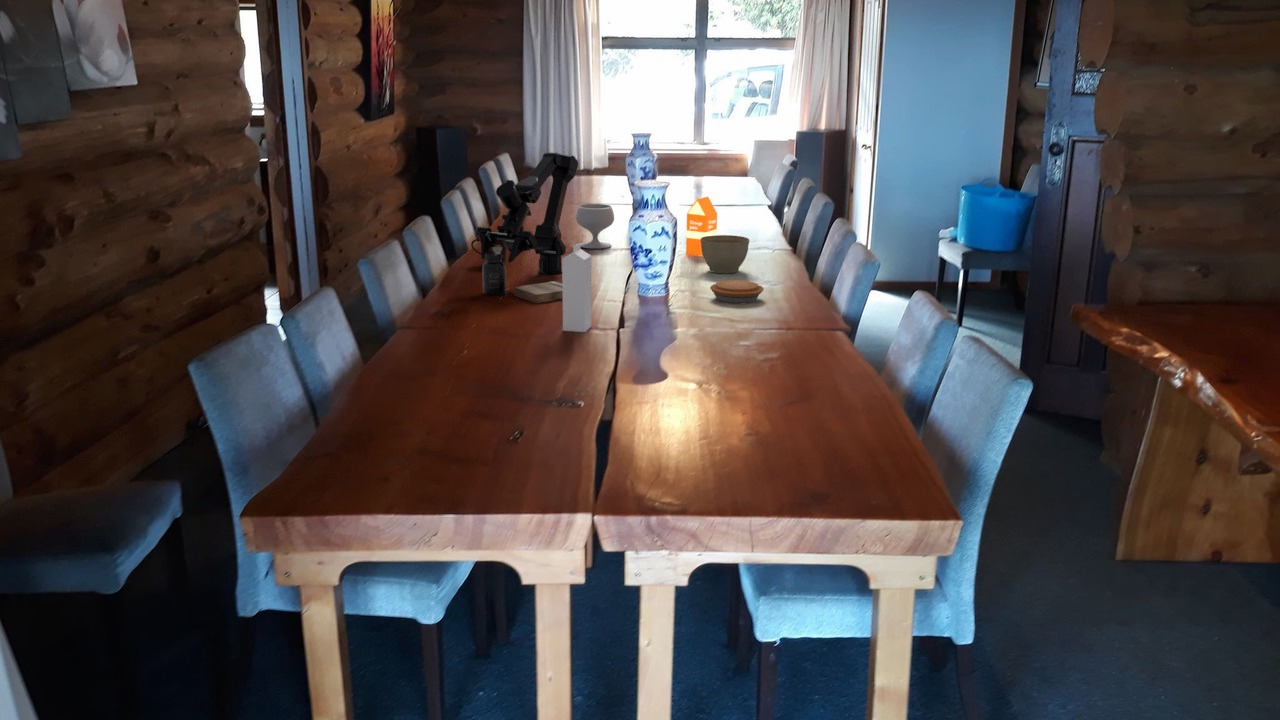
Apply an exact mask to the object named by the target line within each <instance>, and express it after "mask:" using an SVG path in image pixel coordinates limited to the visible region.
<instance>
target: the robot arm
mask: <svg viewBox="0 0 1280 720" xmlns="http://www.w3.org/2000/svg"><path fill="white" fill-rule="evenodd" d="M538 162H539V163H537V165H536V166H535V168H534V169H533V170H532V172H531V173H530V174H529V175H528V176H527V177H526V178H523V179H521V180H519V182H517V183H516V184H515V181H514V180H512V179H511V180H510V179H507V180H506V182H504V183H502V184H500V185H498V187H497V188H496V191H495V193H496V196H497V197H498V200H499V201H500V202H501V204H502V205H503V207H504V208H505V209H507V212H506V214H503V215H502V216H501V218H502V223H501V225H497V227H496V229H497V230H498V231H497V232H494V231H493V230H492V228H491V227H487V226H478V227H477V228H476V230H475V236H476V237H477V239H479V240H480V241H481V242H480V241H479V242H480V246H481V247H480V249H481V250H480V251H481V252H480V253H481V254H480V255H481V256H480V257H481V259H482V261H485V254H486V253H488V252H489V249H490V248H491V247H493V244H494V243H495V241H496V239H497V240H503V244H504V246H505V247H507V250H508V252H509V256H508V260H507V261H508V263H512V262H513V261H514V260H515V259H516V258H517V257H519V255H520V254H521V253H523V252H524V251H525V252H526V251H531V250H534V252H535V254H536V255H539V258H538V270H537V273H540V274H544V275H545V276H546V275H547V276H549V275H550V276H551V275H558V274H562V256H564V255H565V254H566V250H567V247H566V245H565V243H564V242H563V240H562V233H561V229H560V227H559V225H560V220H561V216H562V212H563V208H564V202H565V198H566V193H567V189H568V185H569V183H570V182H571V181H572V180H573V179H574V178H575V176H576V174H577V170H578V168H579V160H578V159H577V158H576V156H574V155H571V154H568V155H567V154H561V153H559V152H550V151H548V152H544V153H543V155H542V158H541V159H540V161H538ZM550 176H551V177H552V184H551V188H550V192H549V196H548V201H547V206H546V209H545V215H544V217H543V218H544V219H543V222H542V223H541V224H537V225H536V226H535V231H534V234H533V232H532V230H524V229H525V227H524V226H523V225H524V223H525V220H526V218H527V217H531V216H532V211H531V209H530V206H529V205H528V204H536V203H537V202H538V201H539V199H540V197H541V195H542V187H543V186H544V184H545V183H546V181H547V180H548V179H549V177H550Z"/></svg>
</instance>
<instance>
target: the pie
mask: <svg viewBox="0 0 1280 720" xmlns="http://www.w3.org/2000/svg"><path fill="white" fill-rule="evenodd" d="M709 289H710V290H711V291H712V292H713V295H714V296H715V298H716V300H718V302H721V303H726V304H733V305H734V304H735V305H742V304H741V303H746V304H751V303H754V302H755V301H756V300H757V299H758V298H759V295H760V294H762V293H763V291H764V289H765V288H764V287H763V286H761V285H759V284H758V283H756V282H753V281H748V280H740V279H735V280H734V279H730V280H728V279H727V280H721V281H717V282H715V283H714V284H712V285H711V286H710V287H709ZM753 301H754V302H753ZM750 302H751V303H750Z"/></svg>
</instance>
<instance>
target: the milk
mask: <svg viewBox="0 0 1280 720" xmlns="http://www.w3.org/2000/svg"><path fill="white" fill-rule="evenodd" d="M580 244H581V243H580V242H579V243H576V245H574V246H572V253H569V254H568V255H566V256H564V257H562V258H561V271H562V273H561V274H562V275H561V276H562V277H561V278H562V286H563V299H562V331H564V332H576V333H586V332H587V331H588V330H589V329H591V327H592V255H591V254H589V253H587V251H585V250H583V249H581V248H582V247H580Z"/></svg>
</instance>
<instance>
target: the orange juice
mask: <svg viewBox="0 0 1280 720" xmlns="http://www.w3.org/2000/svg"><path fill="white" fill-rule="evenodd" d="M717 226H718V212H717V211H716V208H715V207H714V204H713V203H712V202H711V199H710V198H709V196H704V197H701V198H696V200H695V201H694V202H693V204H692V205H691V207H690V208H689V210H688V211H687V212H686V230H685V231H686V232H685V233H686V236H685V238H686V239H685V240H686V241H685V242H686V243H685V255H688V254H694V255H693V256H696V255H702V256H701V257H703V254H702V250H701V241H700V239H701V238H702V237H705V236H714V235H717V233H718V231H717V230H718V228H717Z"/></svg>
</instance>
